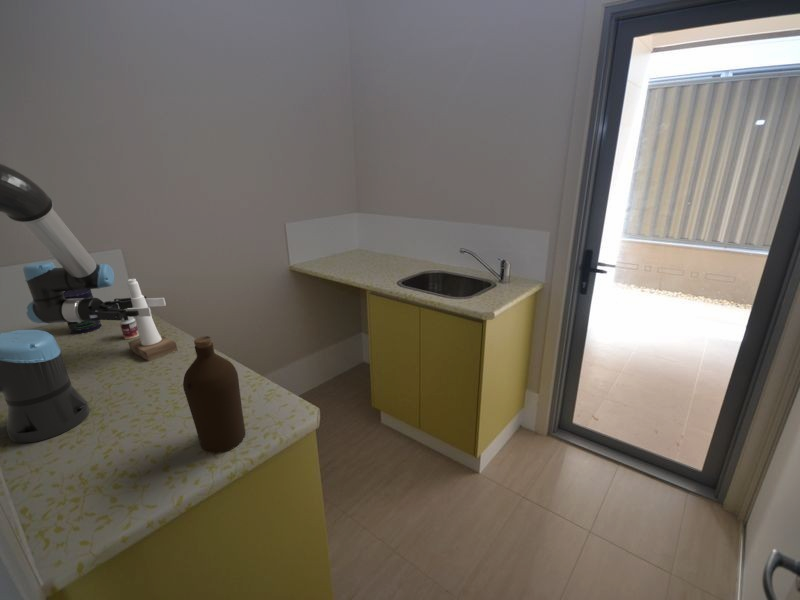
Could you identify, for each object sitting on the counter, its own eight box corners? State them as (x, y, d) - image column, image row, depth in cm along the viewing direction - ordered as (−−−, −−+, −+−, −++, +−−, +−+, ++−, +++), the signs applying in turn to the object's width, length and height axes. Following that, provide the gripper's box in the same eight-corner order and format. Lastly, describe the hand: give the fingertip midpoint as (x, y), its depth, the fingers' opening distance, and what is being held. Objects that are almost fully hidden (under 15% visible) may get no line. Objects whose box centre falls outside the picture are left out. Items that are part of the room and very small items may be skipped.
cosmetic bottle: (139, 341, 132) (118, 279, 124) (159, 336, 136) (140, 275, 128) (142, 347, 128) (121, 283, 120) (163, 341, 131) (144, 279, 123)
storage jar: (101, 321, 158) (90, 286, 153) (103, 329, 151) (92, 292, 146) (69, 328, 152) (57, 292, 147) (70, 336, 145) (57, 298, 140)
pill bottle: (120, 338, 142) (114, 317, 139) (132, 333, 147) (126, 312, 144) (130, 340, 141) (124, 318, 138) (142, 334, 145) (136, 313, 142)
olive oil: (241, 453, 85) (220, 349, 76) (189, 457, 84) (163, 352, 75) (253, 422, 94) (236, 327, 86) (207, 426, 94) (186, 330, 85)
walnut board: (177, 350, 132) (175, 342, 131) (148, 361, 125) (146, 352, 124) (158, 340, 140) (156, 332, 139) (130, 350, 133) (128, 342, 132)
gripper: (108, 308, 138) (175, 306, 139) (64, 334, 118) (142, 330, 119) (103, 288, 135) (170, 285, 136) (56, 310, 115) (136, 307, 116)
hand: (157, 306), depth 128 cm, fingers open, 8 cm apart
